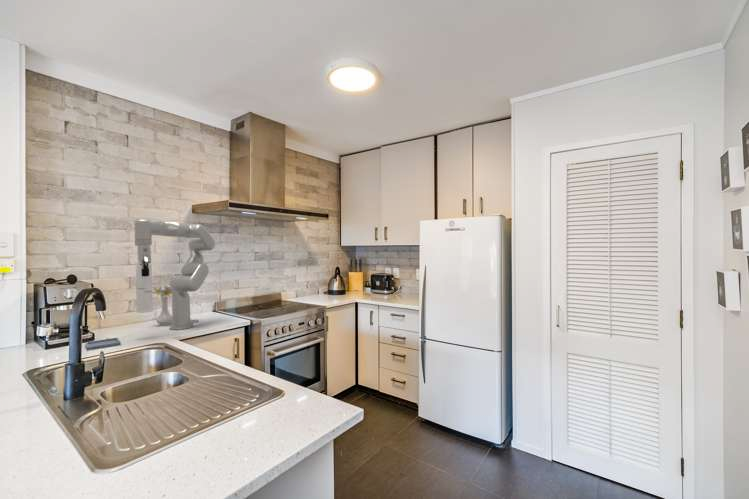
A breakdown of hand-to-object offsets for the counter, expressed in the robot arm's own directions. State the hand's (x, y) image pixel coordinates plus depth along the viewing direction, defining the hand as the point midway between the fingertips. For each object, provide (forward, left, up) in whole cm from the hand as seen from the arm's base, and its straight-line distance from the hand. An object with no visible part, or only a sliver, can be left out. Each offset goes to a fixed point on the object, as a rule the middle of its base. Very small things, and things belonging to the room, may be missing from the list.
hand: (144, 275), depth 182 cm
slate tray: (+18, 0, -34) cm, 38 cm away
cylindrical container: (0, 0, -19) cm, 19 cm away
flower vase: (-15, -32, -34) cm, 49 cm away
